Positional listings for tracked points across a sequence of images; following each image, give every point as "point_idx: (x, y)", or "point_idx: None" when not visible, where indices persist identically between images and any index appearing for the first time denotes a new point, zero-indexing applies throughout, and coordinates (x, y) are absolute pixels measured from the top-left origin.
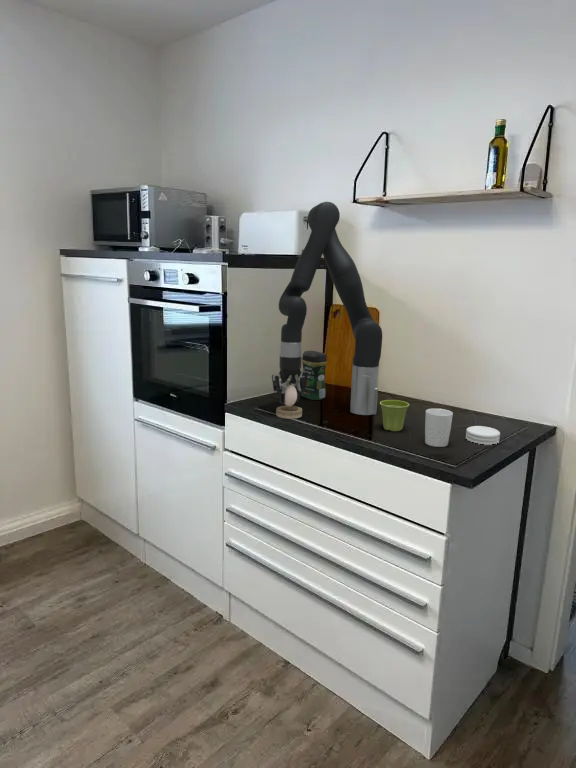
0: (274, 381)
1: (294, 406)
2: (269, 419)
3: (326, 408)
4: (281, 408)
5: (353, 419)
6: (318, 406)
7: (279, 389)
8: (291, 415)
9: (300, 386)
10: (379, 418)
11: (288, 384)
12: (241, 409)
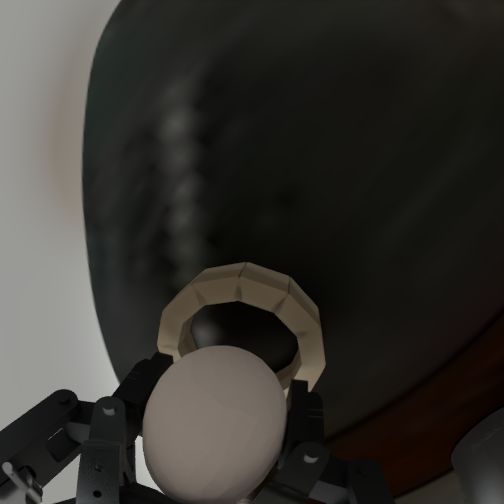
0: (12, 450)
1: (312, 339)
2: (114, 319)
3: (485, 350)
4: (220, 300)
5: (393, 477)
6: (497, 302)
7: (78, 445)
8: None
9: (323, 497)
10: (442, 483)
11: (170, 497)
12: (101, 79)
